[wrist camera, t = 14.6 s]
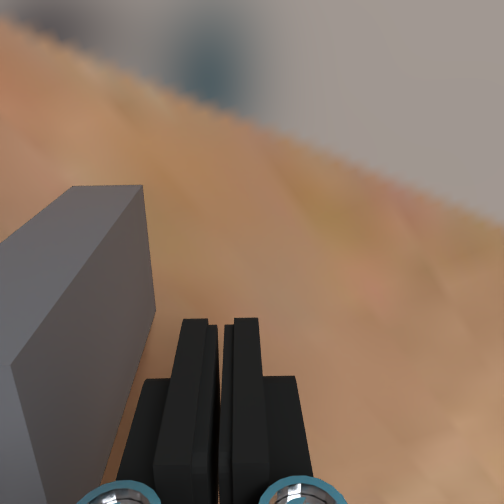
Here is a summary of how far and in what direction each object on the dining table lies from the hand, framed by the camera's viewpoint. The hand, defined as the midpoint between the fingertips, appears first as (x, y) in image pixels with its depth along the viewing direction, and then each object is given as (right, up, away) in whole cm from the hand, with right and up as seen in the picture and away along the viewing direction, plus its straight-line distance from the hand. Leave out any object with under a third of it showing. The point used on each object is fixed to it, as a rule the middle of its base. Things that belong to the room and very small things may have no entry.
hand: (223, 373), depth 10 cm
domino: (-4, +3, +6) cm, 8 cm away
